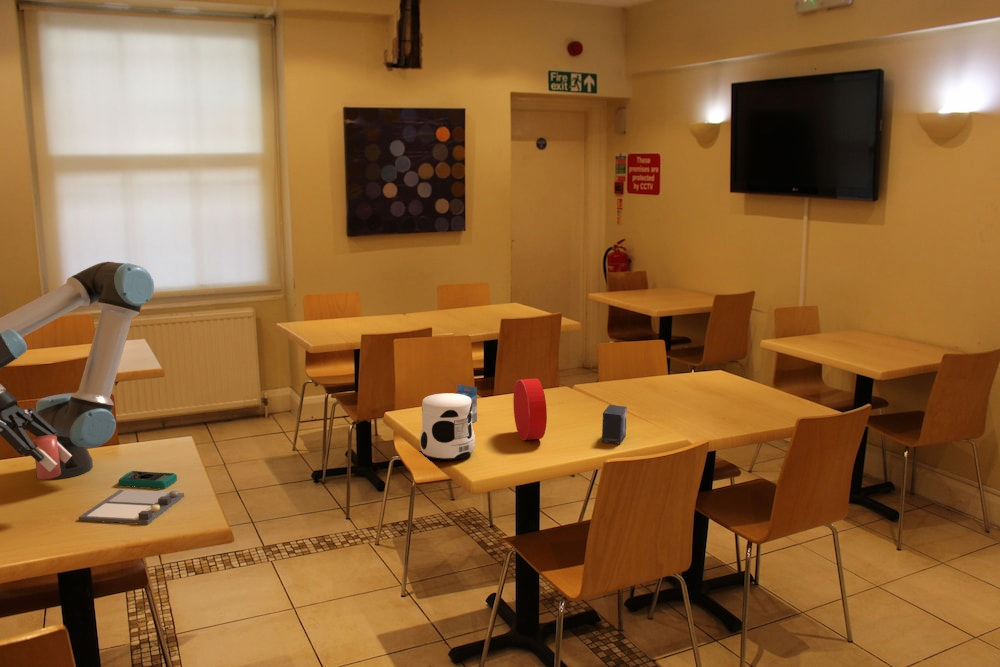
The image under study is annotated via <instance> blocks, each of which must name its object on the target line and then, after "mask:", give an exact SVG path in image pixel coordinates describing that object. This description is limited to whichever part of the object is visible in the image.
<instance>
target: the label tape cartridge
mask: <svg viewBox="0 0 1000 667" xmlns="http://www.w3.org/2000/svg"><path fill="white" fill-rule="evenodd" d="M466 389H468V390H466ZM454 394H462V395H466V396H468V397H470V398H471V401H472V424H473V423H476V422H477V421H478V411H477V410H478V405H477V404H478V387H475V386H469V385H464V384H457V391H456V392H455V393H454Z"/></svg>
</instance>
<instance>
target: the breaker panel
mask: <svg viewBox="0 0 1000 667" xmlns="http://www.w3.org/2000/svg"><path fill="white" fill-rule="evenodd" d="M182 497H183V498H184V497H185V493H184V492H179V490H172V491H160V490H159V491H158V490H156V491H155V490H138V489H137V490H136V489H118V490H117V491H116V492H114V493H112V494H111V495H110V496H109V497H107V498H105V499H104V500H102V501H101V502H99V503H97V504H96V505H94V506H93V507H91V508H90V509H89V510H87V511H86V512H84V513H83V514H81V515H79V516H78V522H91V521H100V522H99V523H102V522H101V521H104V522H103V523H109V522H122V523H121V524H127V523H137V524H136V525H145V524H148V525H150V524H151V523H152V522H153V521H155V520H156V519H157V518H159V517H160V516H161V515H162V514H164V513H165V512H166V511H167V509H168V508H169V507H170V508H171V507H173V506H174V505H175V504H177V503H178V502H179V501H181V498H182ZM183 498H182V499H183ZM177 501H178V502H177ZM176 502H177V503H176ZM173 504H174V505H173ZM172 505H173V506H172ZM170 508H169V509H170ZM169 509H168V510H169ZM164 511H165V512H164ZM163 512H164V513H163ZM159 515H160V516H159ZM158 516H159V517H158ZM155 518H156V519H155ZM154 519H155V520H154ZM152 520H153V521H152ZM151 521H152V522H151ZM150 522H151V523H150ZM149 523H150V524H149Z"/></svg>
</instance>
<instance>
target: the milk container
mask: <svg viewBox="0 0 1000 667" xmlns="http://www.w3.org/2000/svg"><path fill="white" fill-rule="evenodd" d="M421 421H422V422H421V423H422V426H421V431H420V436H419V445H420V450H421V452H422V454H423V455H424V456H426V457H427V458H430V459H434V460H439V461H441V460H442V461H449V460H450V461H452V460H460V459H463V458H466V457H468V456H469V455H471V454H472V453H473V452H474V450H475V445H476V436H475V432H474V427H473V423H472V401H471V398H470V397H468V396H466V395H462V394H455V393H453V392H451V393H449V392H448V393H447V392H446V393H443V392H442V393H435V394H431V395H428V396H426V397H424V398H423V399H422V402H421Z"/></svg>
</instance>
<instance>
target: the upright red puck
mask: <svg viewBox="0 0 1000 667" xmlns="http://www.w3.org/2000/svg"><path fill="white" fill-rule="evenodd" d="M513 389H514V390H513V399H512V400H513V415H514V423H515V427H516V432H517V434H518V437H519V438H520V440H522V441H528V440H529V441H530V440H541V439H543V438H544V436H545V434H546V429H547V423H548V422H547V420H548V415H547V414H548V413H547V409H548V408H547V403H546V402H547V401H546V394H545V391H544V387H543V385H542V382H541V381H540V379H539V378H525V379H518V380H516V382H515V384H514V388H513Z"/></svg>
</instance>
